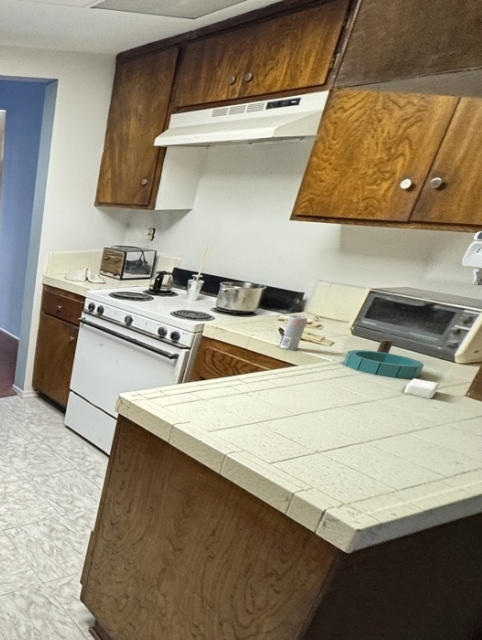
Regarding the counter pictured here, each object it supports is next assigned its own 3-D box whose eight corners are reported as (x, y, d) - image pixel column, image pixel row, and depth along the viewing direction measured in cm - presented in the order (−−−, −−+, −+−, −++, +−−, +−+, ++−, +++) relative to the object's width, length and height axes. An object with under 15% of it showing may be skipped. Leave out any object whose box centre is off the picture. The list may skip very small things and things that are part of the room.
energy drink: (290, 346, 177) (301, 315, 173) (300, 350, 172) (311, 318, 168) (275, 346, 178) (285, 315, 173) (284, 350, 173) (295, 318, 168)
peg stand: (382, 355, 169) (389, 337, 166) (399, 361, 162) (407, 343, 160) (361, 354, 169) (368, 337, 167) (378, 360, 163) (386, 342, 160)
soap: (430, 399, 129) (435, 389, 128) (403, 393, 133) (407, 383, 132) (435, 392, 134) (440, 382, 133) (409, 387, 138) (413, 377, 137)
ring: (384, 362, 161) (388, 351, 159) (433, 379, 145) (439, 367, 143) (330, 360, 162) (335, 349, 161) (374, 377, 146) (379, 365, 144)
